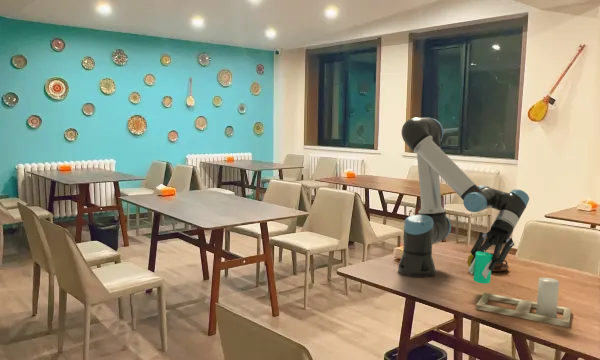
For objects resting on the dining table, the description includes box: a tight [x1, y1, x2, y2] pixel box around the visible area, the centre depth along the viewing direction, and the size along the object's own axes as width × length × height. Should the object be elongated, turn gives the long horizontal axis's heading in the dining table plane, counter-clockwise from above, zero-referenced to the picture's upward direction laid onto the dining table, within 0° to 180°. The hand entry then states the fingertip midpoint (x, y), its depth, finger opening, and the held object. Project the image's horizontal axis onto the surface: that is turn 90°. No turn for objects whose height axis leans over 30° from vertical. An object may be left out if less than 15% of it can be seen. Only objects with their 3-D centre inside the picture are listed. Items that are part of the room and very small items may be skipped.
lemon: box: [467, 253, 474, 268], centre depth 215 cm, size 6×6×8 cm
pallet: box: [475, 292, 572, 328], centre depth 171 cm, size 28×14×2 cm, turn 60°
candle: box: [472, 250, 493, 285], centre depth 187 cm, size 6×6×12 cm
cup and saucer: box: [489, 252, 510, 272], centre depth 218 cm, size 12×12×6 cm
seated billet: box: [535, 277, 560, 318], centre depth 167 cm, size 6×6×12 cm
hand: (477, 274), depth 185 cm, fingers closed on candle, 5 cm apart
